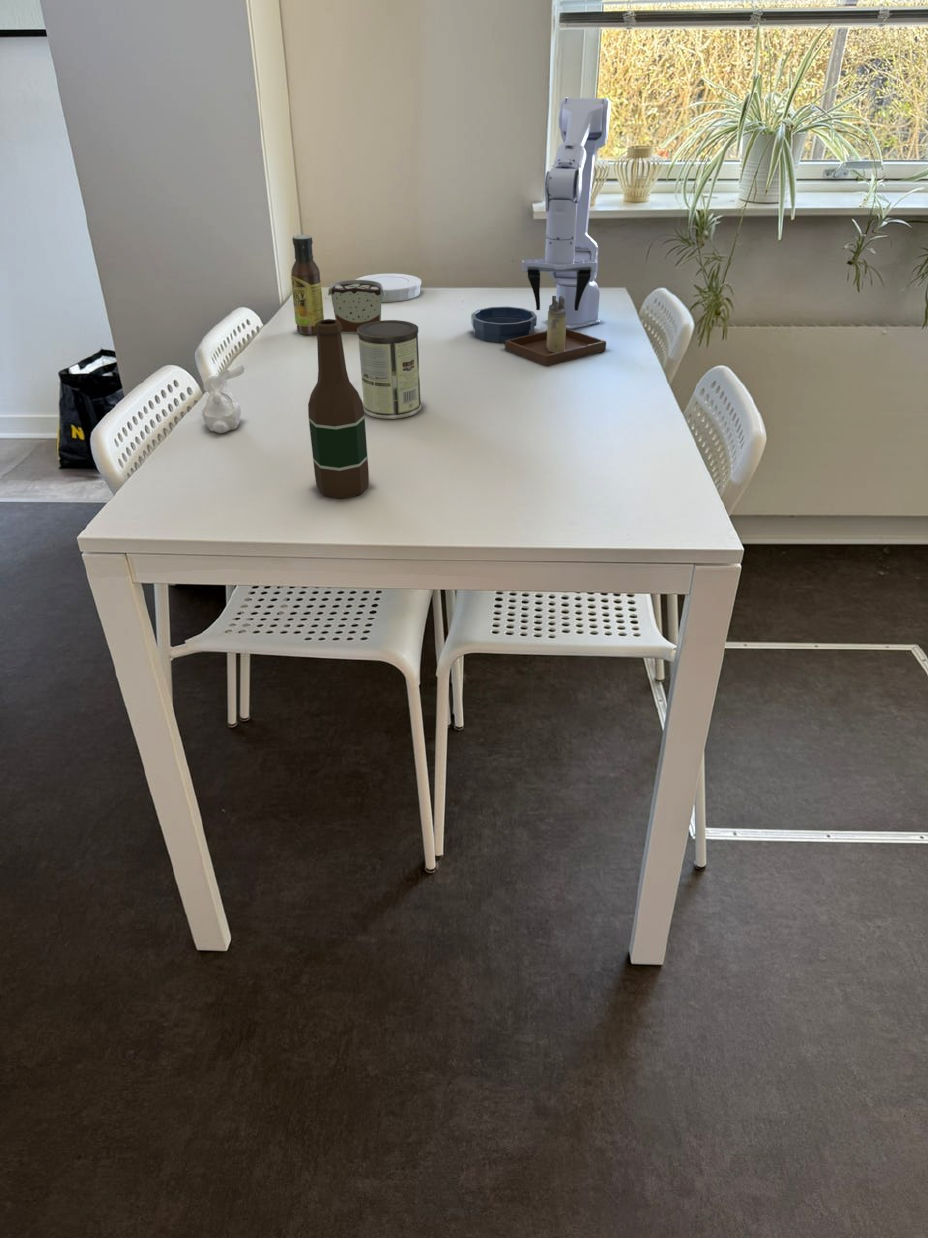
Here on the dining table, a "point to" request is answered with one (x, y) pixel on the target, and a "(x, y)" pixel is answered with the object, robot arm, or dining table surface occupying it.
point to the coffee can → (389, 368)
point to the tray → (537, 352)
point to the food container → (356, 303)
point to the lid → (396, 286)
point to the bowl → (502, 323)
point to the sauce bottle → (306, 286)
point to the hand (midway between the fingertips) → (557, 308)
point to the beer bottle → (336, 420)
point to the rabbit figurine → (221, 402)
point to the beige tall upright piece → (556, 326)
